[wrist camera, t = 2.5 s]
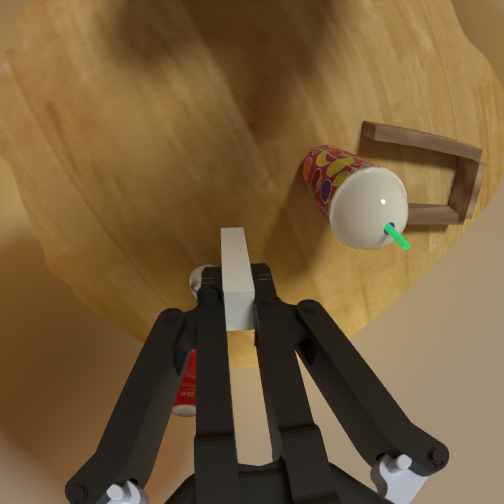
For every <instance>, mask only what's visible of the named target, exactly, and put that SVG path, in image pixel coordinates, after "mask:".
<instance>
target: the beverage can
mask: <svg viewBox="0 0 504 504" xmlns="http://www.w3.org/2000/svg"><path fill="white" fill-rule="evenodd" d="M171 412H172V413H173V414H174V415H177V416H181V417H193V416H196V349H194V350H192V352H191V355H190V358H189V361H188V364H187V367H186V370H185V373H184V375H183V378H182V381H181V384H180V387H179V390H178V393H177V396H176V399H175V402H174V405H173V408H172V411H171Z"/></svg>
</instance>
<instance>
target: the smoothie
mask: <svg viewBox="0 0 504 504" xmlns="http://www.w3.org/2000/svg"><path fill="white" fill-rule="evenodd" d="M302 177H303V181H304V183H305V185H306V186H307V188H308V189H309V191H310V193H311V194H312V196H313V198H314V199H315V201H316V203H317V204H318V206H319V208H320V209H321V211H322V213H323V215H324V216H325V218H326V220H327V222H328V223H329V225H330V228H331V230H332V232H333V233H334V235H335V237H336V238H337V239H338V240H339V241H340V242H341V243H343V244H344V245H345V246H348V247H352V248H355V249H364V250H378V249H381V248H384V247H387V246H389V245H390V244H392V243H393V242H395V241H396V242H397V243H398V244H399V245H400V246H401V247H402V248H403V249H404V250H407V249H408V248H409V246H410V244H409V243H408V242H407V241H406V240H405V239H404V238H403V237H402V236H401V234H402V232H403V230H404V228H405V226H406V223H407V219H408V201H407V198H406V191H405V188H404V185H403V183H402V181H401V180H400V179H399V178H398V176H397V175H396V174H395V173H393V172H391V171H389V170H387V169H386V168H383V167H380V166H378V165H375V164H373V163H371V162H369V161H367V160H365V159H363V158H360V157H358V156H356V155H354V154H351V153H349V152H347V151H344V150H342V149H340V148H337V147H335V146H328V145H324V146H321V147H317V148H316V149H314V150H313V151H311V152H310V153H309V154H308V156H307V157H306V158H305V160H304V163H303V166H302Z"/></svg>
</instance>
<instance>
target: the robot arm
mask: <svg viewBox="0 0 504 504" xmlns="http://www.w3.org/2000/svg"><path fill="white" fill-rule="evenodd" d="M221 254H222V266H213V267H205V268H204V270H203V271H202V274H201V287H200V288H199V289H198V290H197V293H196V295H197V302H198V306H197V307H196V308H194V309H193V310H190V311H187V312H184V313H183V312H182V311H181V310H180V309H177V308H169V309H166V310H164V311H162V312H161V313H160V314H159V316H158V318H157V320H156V322H155V324H154V326H153V328H152V330H151V332H150V334H149V336H148V338H147V340H146V342H145V344H144V346H143V348H142V350H141V352H140V354H139V356H138V358H137V360H136V362H135V364H134V367H133V369H132V371H131V373H130V375H129V377H128V379H127V381H126V383H125V386H124V388H123V390H122V392H121V394H120V397H119V399H118V401H117V403H116V406H115V408H114V410H113V412H112V415H111V417H110V419H109V422H108V424H107V426H106V429H105V431H104V433H103V436H102V438H101V440H100V443H99V446H98V448H97V450H96V453H95V454H94V455H93V456H92V457H91V458H90V459H89V460H88V461H87V462H86V463H85V464H84V465H83V466H82V467H81V468H80V469H79V471H78V472H77V473H76V474H75V475H74V476H73V477H72V478H71V479H70V480H69V481H68V482H67V484H66V486H65V494H66V498H67V499H68V501H69V502H70V503H71V504H148V503H149V500H148V496H147V494H146V493H145V491H143V489H144V487H145V485H146V483H147V482H148V480H149V478H150V475H151V472H152V470H153V467H154V463H155V460H156V457H157V454H158V451H159V448H160V444H161V441H162V438H163V435H164V432H165V429H166V426H167V423H168V420H169V417H170V414H171V411H172V408H173V405H174V402H175V399H176V396H177V393H178V390H179V387H180V384H181V381H182V378H183V375H184V373H185V370H186V367H187V364H188V361H189V358H190V355H191V352H192V350H194V349H196V436H195V437H194V469H195V473H194V474H192V475H191V476H189V477H188V478H187V479H186V480H185V481H184V482H183V483H182V484H181V485H180V487H178V489H177V490H176V491H175V492H174V493H173V494H172V496H170V498H169V499H168V500H167V501H166V502H165V503H164V504H409V503H410V502H411V500H412V499H413V498H414V496H415V495H416V494H417V492H418V491H419V489H420V488H421V487H422V485H423V483H424V482H425V480H426V479H427V478H428V477H429V476H430V475H431V474H434V473H436V472H437V471H439V470H441V469H443V468H444V467H445V466H446V464H447V462H448V460H449V451H448V449H447V447H446V446H445V445H444V444H443V443H441V442H440V441H438V440H437V439H435V438H434V437H432V436H430V435H429V434H427V433H426V432H424V431H423V430H421V429H420V428H418V427H417V426H415V425H414V424H413V423H411V422H410V420H409V419H408V418H407V416H406V415H405V414H404V412H403V411H402V409H401V408H400V407H399V405H398V404H397V403H396V401H395V400H394V399H393V398H392V396H391V395H390V393H389V392H388V391H387V389H386V388H385V387H384V386H383V384H382V383H381V381H380V380H379V379H378V378H377V376H376V375H375V374H374V372H373V371H372V370H371V368H370V367H369V366H368V364H367V363H366V362H365V360H364V359H363V358H362V357H361V355H360V354H359V353H358V351H357V350H356V349H355V347H354V346H353V345H352V344H351V342H350V341H349V340H348V338H347V337H346V336H345V335H344V333H343V332H342V331H341V329H340V328H339V327H338V326H337V324H336V323H335V322H334V320H333V319H332V318H331V317H330V315H329V314H328V313H327V312H326V310H325V309H324V308H323V307H322V305H321V304H320V303H319V302H317V301H315V300H310V299H306V300H302V301H300V302H299V303H298V304H297V305H291V304H287V303H284V302H282V301H281V299H280V298H279V297H278V296H277V293H276V290H275V286H274V282H273V279H272V275H271V271H270V268H269V267H268V266H267V265H266V264H265V263H260V264H250V262H249V257H248V251H247V245H246V240H245V234H244V229H243V227H236V228H221ZM252 329H255V338H254V346H256V350H257V357H258V363H259V369H260V376H261V383H262V389H263V395H264V401H265V408H266V414H267V421H268V427H269V433H270V439H271V445H272V459H273V462H271V463H269V464H266V465H263V466H254V465H246V464H239V463H238V458H237V449H236V440H235V430H234V419H233V409H232V396H231V384H230V372H229V358H228V344H227V331H237V330H252ZM295 351H296V352H297V354H298V355H299V357H300V359H301V360H302V362H303V364H304V365H305V367H306V369H307V370H308V372H309V374H310V375H311V377H312V379H313V380H314V382H315V383H316V385H317V387H318V388H319V390H320V392H321V393H322V395H323V396H324V398H325V400H326V401H327V403H328V404H329V406H330V408H331V409H332V411H333V413H334V414H335V416H336V417H337V419H338V421H339V422H340V424H341V425H342V427H343V429H344V430H345V432H346V433H347V435H348V437H349V438H350V440H351V441H352V443H353V445H354V446H355V448H356V450H357V451H358V452H359V454H360V455H361V456H362V458H363V459H364V460H365V461H366V462H367V463H368V464H369V465H370V466H371V467H372V469H371V472H370V477H371V480H372V482H373V483H374V484H375V485H376V487H377V490H378V493H376V492H375V491H373V490H371V489H370V488H368V487H366V486H365V485H364V484H362V483H361V482H359V481H358V480H356V479H355V478H353V477H352V476H350V475H349V474H347V473H346V472H344V471H343V470H341V469H340V468H338V467H337V466H336V465H334V464H332V463H330V462H328V458H327V454H326V450H325V446H324V442H323V438H322V435H321V431H320V429H319V427H318V426H317V425H316V424H315V423H314V421H313V418H312V414H311V410H310V406H309V402H308V398H307V394H306V391H305V387H304V383H303V379H302V375H301V372H300V368H299V364H298V360H297V357H296V353H295Z"/></svg>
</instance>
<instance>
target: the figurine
mask: <svg viewBox="0 0 504 504" xmlns="http://www.w3.org/2000/svg"><path fill="white" fill-rule="evenodd" d="M213 266H218V265H212V264H207V265H202V266H199V267H197V268H196V269H195V270H194V271H193V272H192V273H191V275H190V278H189V287H190V290H191V292H192V294H193V295H194V297H195V298H196V299H197V295H196V293H197V290H198V289H199V288H200V287H201V274H202V271H203V270H204V268H205V267H213Z"/></svg>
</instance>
